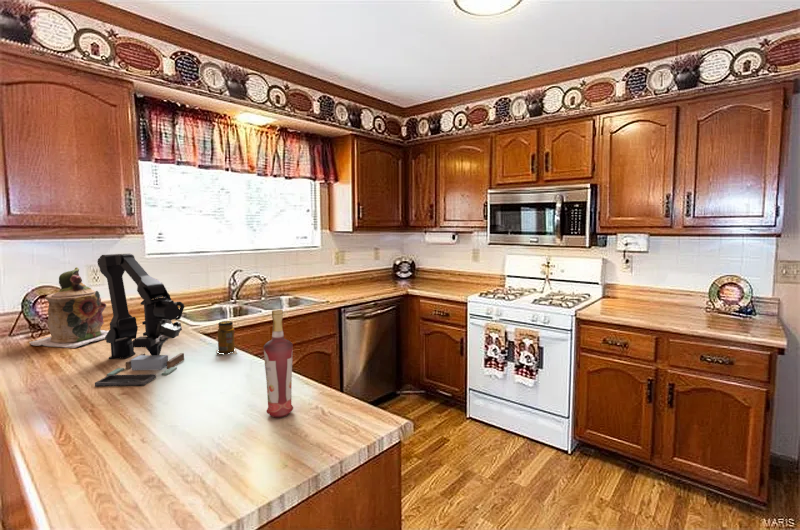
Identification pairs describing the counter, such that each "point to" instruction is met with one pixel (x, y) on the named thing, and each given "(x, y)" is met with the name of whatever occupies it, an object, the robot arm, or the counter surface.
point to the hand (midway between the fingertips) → (156, 359)
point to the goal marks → (123, 369)
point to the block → (149, 362)
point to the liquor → (278, 369)
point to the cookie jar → (73, 314)
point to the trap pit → (125, 380)
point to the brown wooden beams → (170, 363)
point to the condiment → (226, 338)
